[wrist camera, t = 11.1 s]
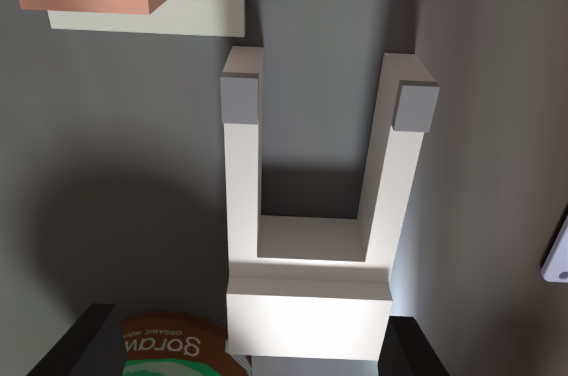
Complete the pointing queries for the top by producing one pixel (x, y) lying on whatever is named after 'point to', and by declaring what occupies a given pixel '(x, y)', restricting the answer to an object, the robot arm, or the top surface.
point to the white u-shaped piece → (318, 225)
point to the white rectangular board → (164, 19)
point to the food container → (179, 347)
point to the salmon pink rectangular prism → (95, 6)
